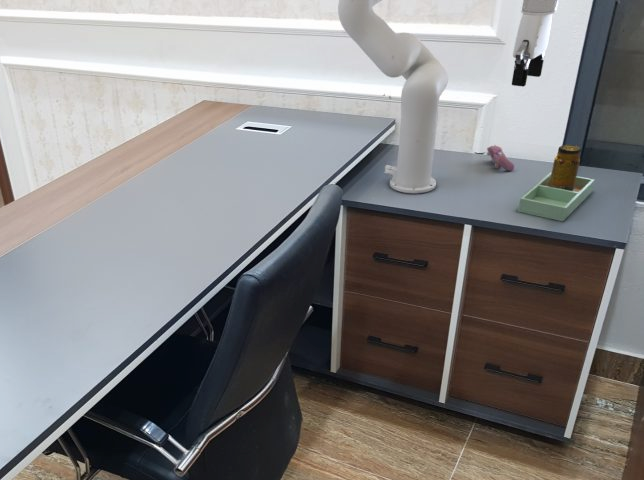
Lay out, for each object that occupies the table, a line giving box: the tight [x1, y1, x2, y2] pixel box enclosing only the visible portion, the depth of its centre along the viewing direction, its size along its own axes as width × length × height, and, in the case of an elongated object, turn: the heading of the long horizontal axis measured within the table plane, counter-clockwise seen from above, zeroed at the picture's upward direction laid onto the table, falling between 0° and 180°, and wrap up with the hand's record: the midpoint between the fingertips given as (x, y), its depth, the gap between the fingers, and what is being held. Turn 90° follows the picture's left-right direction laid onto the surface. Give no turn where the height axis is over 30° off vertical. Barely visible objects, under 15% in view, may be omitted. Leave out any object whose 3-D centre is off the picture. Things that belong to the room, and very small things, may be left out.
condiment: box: [549, 144, 582, 192], centre depth 187 cm, size 7×8×12 cm
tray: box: [517, 171, 596, 222], centre depth 187 cm, size 11×22×4 cm, turn 138°
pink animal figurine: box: [486, 144, 515, 172], centre depth 210 cm, size 10×5×7 cm, turn 178°
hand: (526, 80), depth 177 cm, fingers open, 9 cm apart
